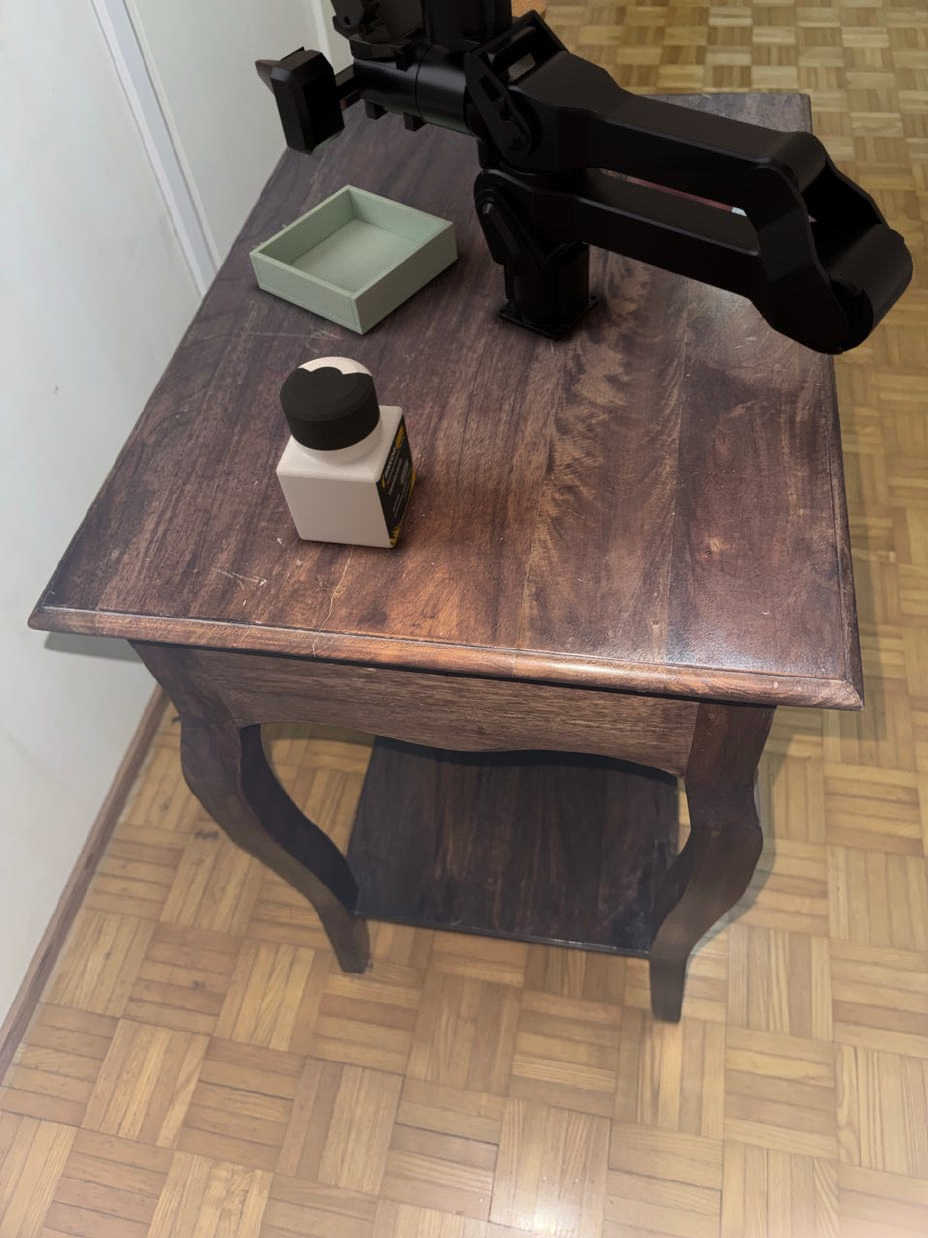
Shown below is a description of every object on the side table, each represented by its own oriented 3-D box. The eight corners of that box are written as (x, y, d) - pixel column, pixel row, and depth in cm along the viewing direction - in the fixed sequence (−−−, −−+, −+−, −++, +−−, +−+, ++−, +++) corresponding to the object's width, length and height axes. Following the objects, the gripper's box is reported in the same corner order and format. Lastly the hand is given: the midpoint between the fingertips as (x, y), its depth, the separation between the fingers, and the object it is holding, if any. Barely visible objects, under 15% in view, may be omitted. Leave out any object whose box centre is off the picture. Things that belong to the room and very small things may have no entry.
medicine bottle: (394, 550, 64) (363, 421, 54) (299, 541, 65) (252, 414, 56) (417, 478, 68) (392, 346, 58) (327, 470, 69) (288, 340, 60)
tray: (457, 258, 84) (453, 222, 81) (362, 334, 79) (354, 299, 76) (355, 219, 90) (347, 183, 87) (259, 287, 84) (248, 252, 82)
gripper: (507, -89, 66) (352, -113, 73) (334, 12, 59) (179, -26, 65) (514, 74, 75) (376, 39, 82) (365, 179, 68) (226, 131, 74)
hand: (296, 44), depth 76 cm, fingers open, 9 cm apart
